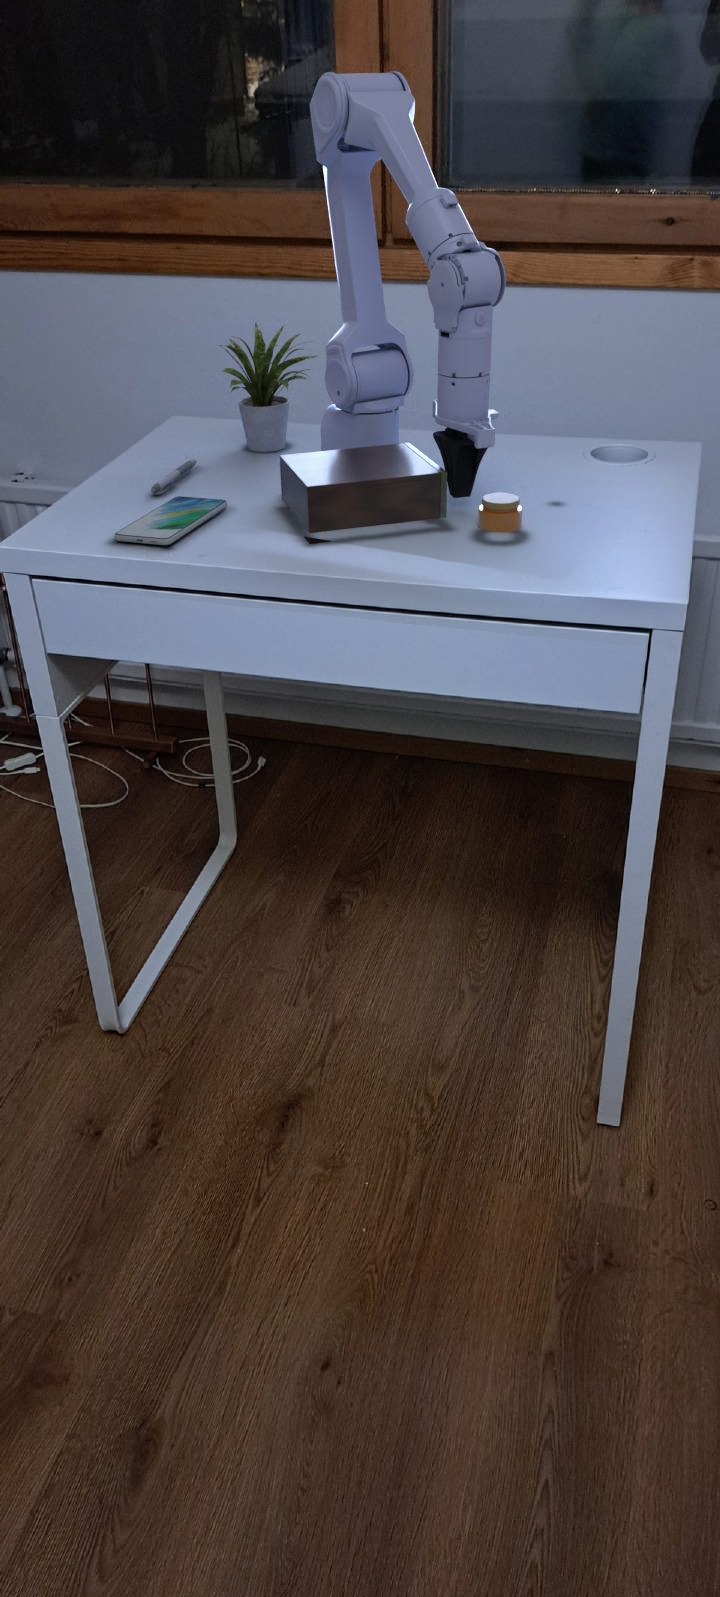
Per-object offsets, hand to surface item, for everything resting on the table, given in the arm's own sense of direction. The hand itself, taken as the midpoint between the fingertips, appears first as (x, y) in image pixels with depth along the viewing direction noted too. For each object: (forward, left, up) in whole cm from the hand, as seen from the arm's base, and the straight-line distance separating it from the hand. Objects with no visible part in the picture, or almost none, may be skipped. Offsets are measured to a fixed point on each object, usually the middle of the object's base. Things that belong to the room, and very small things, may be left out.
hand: (460, 495), depth 133 cm
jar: (+7, -5, -2) cm, 9 cm away
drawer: (-9, -5, -2) cm, 11 cm away
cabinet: (-10, -6, -2) cm, 12 cm away
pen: (-38, -3, -3) cm, 39 cm away
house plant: (-36, +15, -3) cm, 40 cm away
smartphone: (-28, -17, -2) cm, 33 cm away
